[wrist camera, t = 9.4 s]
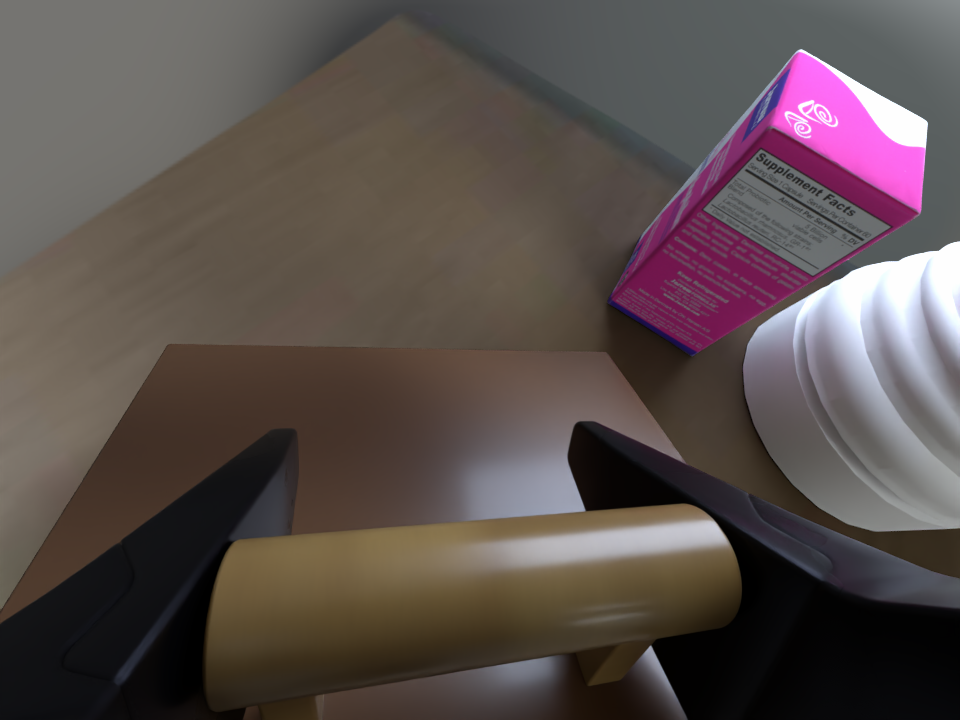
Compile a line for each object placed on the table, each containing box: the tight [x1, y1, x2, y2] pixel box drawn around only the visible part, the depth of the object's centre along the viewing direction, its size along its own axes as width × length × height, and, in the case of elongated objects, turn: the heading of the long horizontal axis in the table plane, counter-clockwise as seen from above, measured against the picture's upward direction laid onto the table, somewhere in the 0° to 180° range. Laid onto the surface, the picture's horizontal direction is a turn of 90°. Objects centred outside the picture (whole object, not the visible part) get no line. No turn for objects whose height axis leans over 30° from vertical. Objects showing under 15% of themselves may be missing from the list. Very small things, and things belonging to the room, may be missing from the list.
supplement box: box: [608, 50, 927, 356], centre depth 20 cm, size 6×6×12 cm
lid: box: [0, 344, 742, 720], centre depth 10 cm, size 11×15×5 cm
